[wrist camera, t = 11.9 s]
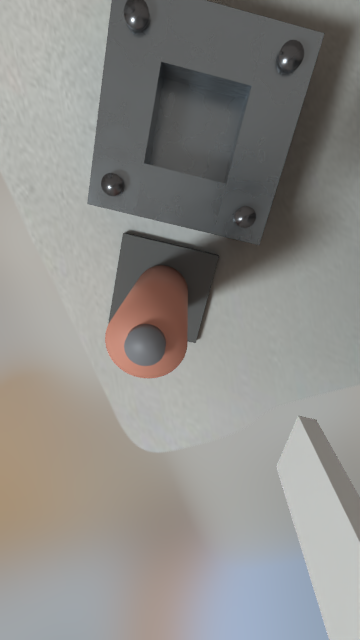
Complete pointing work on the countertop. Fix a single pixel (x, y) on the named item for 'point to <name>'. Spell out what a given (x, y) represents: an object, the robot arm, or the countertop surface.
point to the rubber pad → (186, 261)
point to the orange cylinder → (151, 325)
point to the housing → (198, 113)
